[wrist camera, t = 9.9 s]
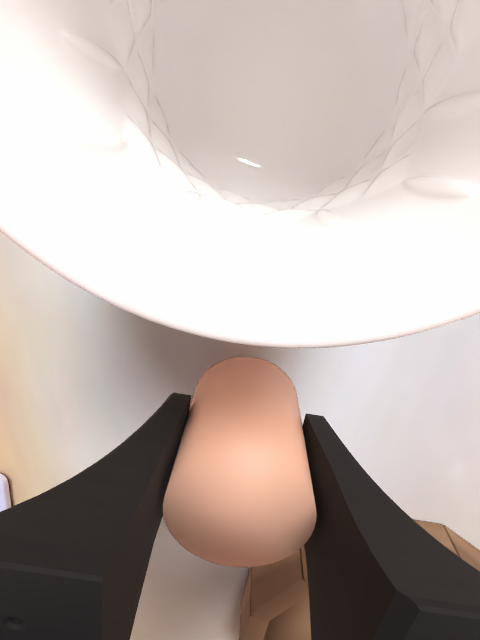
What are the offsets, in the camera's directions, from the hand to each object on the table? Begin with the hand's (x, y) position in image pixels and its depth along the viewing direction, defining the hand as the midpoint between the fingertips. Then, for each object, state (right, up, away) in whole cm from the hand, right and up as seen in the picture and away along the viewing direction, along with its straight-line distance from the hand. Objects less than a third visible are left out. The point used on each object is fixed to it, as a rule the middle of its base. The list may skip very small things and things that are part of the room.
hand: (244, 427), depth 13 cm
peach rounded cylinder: (0, +1, +1) cm, 2 cm away
